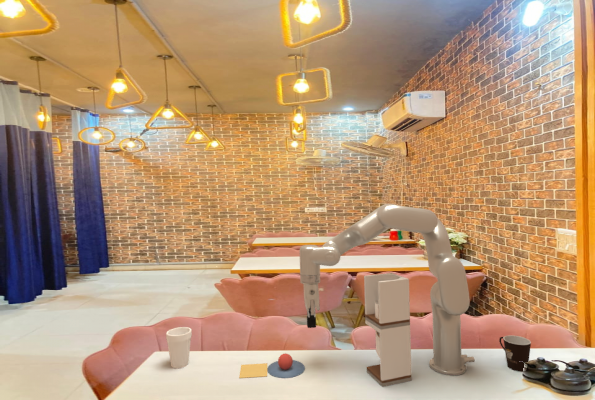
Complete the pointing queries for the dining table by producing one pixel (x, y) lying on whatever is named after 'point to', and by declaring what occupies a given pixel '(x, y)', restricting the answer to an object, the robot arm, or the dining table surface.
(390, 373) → the display case
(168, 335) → the foam cup
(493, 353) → the dining table surface
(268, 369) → the disc
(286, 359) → the ball
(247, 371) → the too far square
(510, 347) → the coffee mug
